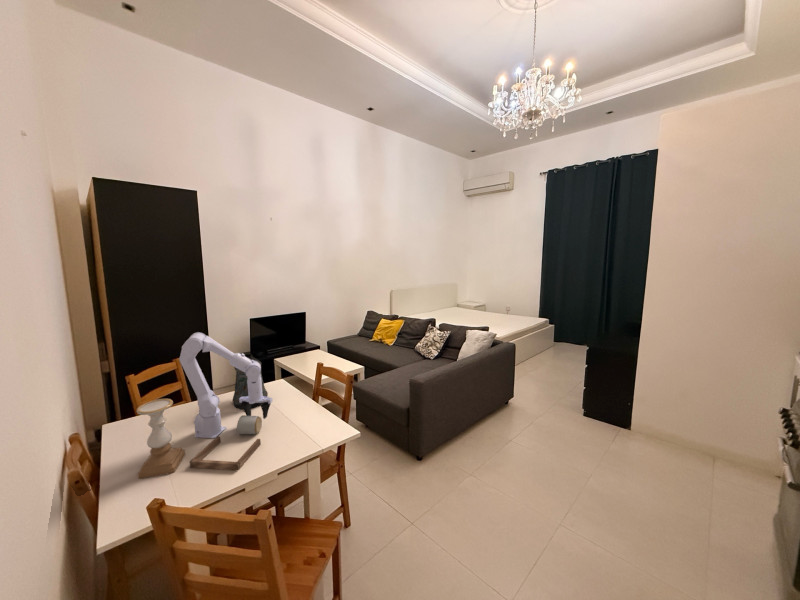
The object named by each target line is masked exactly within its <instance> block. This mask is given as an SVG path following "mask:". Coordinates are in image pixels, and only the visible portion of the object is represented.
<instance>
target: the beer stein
mask: <svg viewBox="0 0 800 600" xmlns="http://www.w3.org/2000/svg"><path fill="white" fill-rule="evenodd" d="M245 357H247V358H248V359H250V360H254V361H257V362H258V363H259V364H260V366H261V367H262V362H261V361H260V360H259V359H258V358H256V357H253V355H252V354H250V353H247V354H245ZM233 367H234V366H233ZM234 370H235V384H234V392H233V397H232V400H231V401H232V405H233V407H234V408H235V409H237V410H239V409H240V410H239V411H241V410H242V411H244V410H243V408H242V407H241V406H240V405H241V404H242V403H240V402H239V398H241V397H245V396H248V384H247V380H248V377H247V376H246V372H243V371H241V370H239V369H237V368H236V367H234ZM260 374H261V381H262V394H263V396H265V397H269V396H268V394H269V392H268V391H267V389H266V387H265V384H264V380H263V375H262V372H261V373H260ZM262 404H263V403H254V404H251V410H253V409H256V408H259V407H261V405H262Z"/></svg>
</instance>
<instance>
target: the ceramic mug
mask: <svg viewBox="0 0 800 600" xmlns="http://www.w3.org/2000/svg"><path fill="white" fill-rule="evenodd" d="M262 422H263V420H262V417H261V416H259V415H251V416H246V414H245V415H240V416H239V419H238V420H237V424H236V433H237V434H238V435H257V434H258V433H260V431H261V428H262V425H263V423H262Z"/></svg>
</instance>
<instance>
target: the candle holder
mask: <svg viewBox="0 0 800 600" xmlns="http://www.w3.org/2000/svg"><path fill="white" fill-rule="evenodd" d="M173 404H174V401H173V400H172V399H171V398H158V399H154V400H151V401H146V402H145V403H142V404H141V405H139V406H138V407H137V408H136V413H137V414H138V415H142V416H148V417H149V418H150V419H149V421H148V423H147V426H149V427H150V428H151V429H152V430H151V432H150V434H149V435H148V438H147V441H146V445H147V447H148V448H150V452H149V453H150V455H149V456H148V458H147V459H146V460H145V461H144V463H143V464H142V466H141V468H140V470H139V472H138V473H137V476H138V479H145V478H151V477H157V476H161V475H162V476H163V475H169V474H172V473H175V472H176V470H177V469H178V468H179V466H180V464H181V463H182V461H183V459H184V457H185V455H186V450H185V449H182V447H176V448H172V444H171V443H170V442H171V441H172V439H173V434H172V432H171V431H169V430H168V429H167V428H166V427H165V424H166V421H167V418H166V417H164V412H165V411H167V410H168V409H169V408H171V407H172V406H173Z"/></svg>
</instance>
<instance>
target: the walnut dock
mask: <svg viewBox="0 0 800 600" xmlns="http://www.w3.org/2000/svg"><path fill="white" fill-rule="evenodd" d="M221 439H222V438H221V436H217V437H216V438H213V440H212V441H211V442H210V443H209V444H207V445H206V446H205V447H204V448H203V449H202V450H201V451H200V452H198V453H197V454H196V455H195V456H194V457H193V458H192V459H190V461H189V467H190V468H191V469H204V470H205V469H207V470H208V469H209V470H220V471H221V470H223V471H236V470H239V471H240V469H242V467H243V466H244V465H245V464H244V463H246V462H247V461H248V460H249V459H250V458H251V456H252V455H253V454H254V453H255V452H256V451H257V450H258V449H259V447H260V446H261V443H262V442H261V438H256V439H255V441H254V442H253V443H252V444H251V445H250V447H248V448H247V450H246V451H245V452H244V453H243V454H242V456H241V457H240V458H239V459H238V460H237V461H226V460H212V459H211V460H210V459H204V458H206V457H207V456H208V455H209V454H210V453H211V452H213V450H215V448H216V447H217V446H218V445H219V444H221V441H222V440H221Z"/></svg>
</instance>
